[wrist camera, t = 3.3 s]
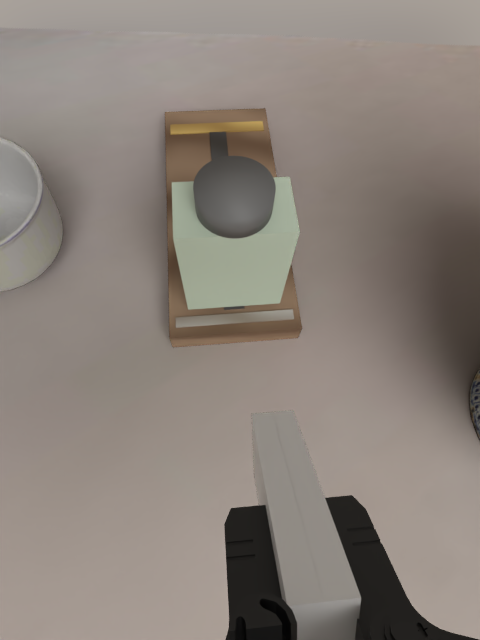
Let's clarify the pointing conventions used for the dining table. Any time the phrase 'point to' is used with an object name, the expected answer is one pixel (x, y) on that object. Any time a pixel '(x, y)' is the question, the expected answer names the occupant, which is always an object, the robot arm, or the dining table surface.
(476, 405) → the decorative vase
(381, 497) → the dining table surface
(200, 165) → the fader track
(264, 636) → the robot arm
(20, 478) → the dining table surface
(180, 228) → the fader tab
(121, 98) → the dining table surface
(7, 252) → the teacup
